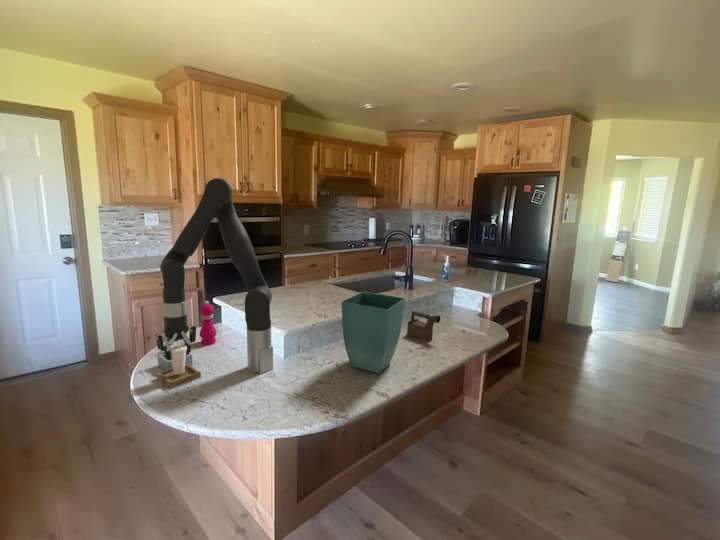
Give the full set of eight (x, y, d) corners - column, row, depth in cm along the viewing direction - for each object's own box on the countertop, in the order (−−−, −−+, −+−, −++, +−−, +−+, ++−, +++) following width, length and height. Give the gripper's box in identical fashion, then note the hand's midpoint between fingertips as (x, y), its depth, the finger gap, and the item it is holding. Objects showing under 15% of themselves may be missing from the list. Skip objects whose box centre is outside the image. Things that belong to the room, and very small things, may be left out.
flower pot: (360, 351, 169) (362, 290, 164) (401, 360, 161) (405, 297, 155) (338, 368, 152) (340, 301, 146) (384, 380, 143) (387, 309, 138)
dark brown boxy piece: (431, 343, 181) (434, 317, 178) (405, 334, 192) (407, 309, 189) (440, 339, 187) (443, 314, 184) (415, 330, 198) (416, 306, 195)
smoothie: (176, 377, 134) (173, 341, 132) (165, 372, 138) (162, 337, 135) (192, 371, 140) (189, 335, 137) (181, 366, 143) (179, 331, 140)
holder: (192, 365, 150) (192, 354, 149) (169, 373, 143) (168, 362, 142) (181, 358, 155) (180, 348, 154) (158, 365, 148) (157, 355, 147)
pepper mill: (213, 346, 169) (211, 303, 165) (197, 345, 169) (195, 302, 165) (219, 340, 176) (217, 299, 172) (204, 339, 176) (202, 298, 172)
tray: (201, 377, 140) (200, 372, 140) (171, 388, 132) (171, 383, 131) (186, 368, 147) (185, 363, 146) (157, 378, 138) (156, 373, 138)
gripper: (159, 320, 126) (162, 366, 130) (199, 311, 138) (202, 353, 141) (149, 315, 131) (153, 360, 134) (189, 306, 142) (191, 348, 145)
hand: (178, 356), depth 138 cm, fingers closed on smoothie, 6 cm apart
